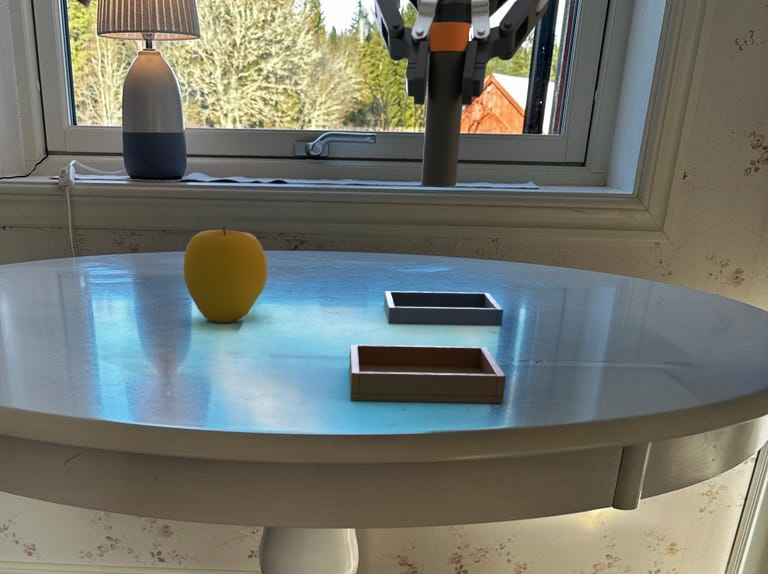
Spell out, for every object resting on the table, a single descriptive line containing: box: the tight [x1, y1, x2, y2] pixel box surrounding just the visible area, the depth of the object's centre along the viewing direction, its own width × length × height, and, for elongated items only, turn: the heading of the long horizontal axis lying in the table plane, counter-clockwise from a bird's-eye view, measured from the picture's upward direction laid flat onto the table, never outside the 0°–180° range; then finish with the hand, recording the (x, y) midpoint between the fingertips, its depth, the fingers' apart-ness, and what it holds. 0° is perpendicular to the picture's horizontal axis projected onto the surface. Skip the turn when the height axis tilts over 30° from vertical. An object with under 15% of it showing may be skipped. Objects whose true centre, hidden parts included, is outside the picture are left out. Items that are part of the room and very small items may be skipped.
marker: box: [420, 22, 470, 188], centre depth 70 cm, size 3×3×10 cm
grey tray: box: [383, 290, 504, 327], centre depth 99 cm, size 11×10×2 cm
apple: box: [183, 226, 268, 324], centre depth 96 cm, size 8×8×9 cm
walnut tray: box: [348, 343, 507, 404], centre depth 74 cm, size 11×10×2 cm
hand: (443, 94), depth 67 cm, fingers closed on marker, 3 cm apart
